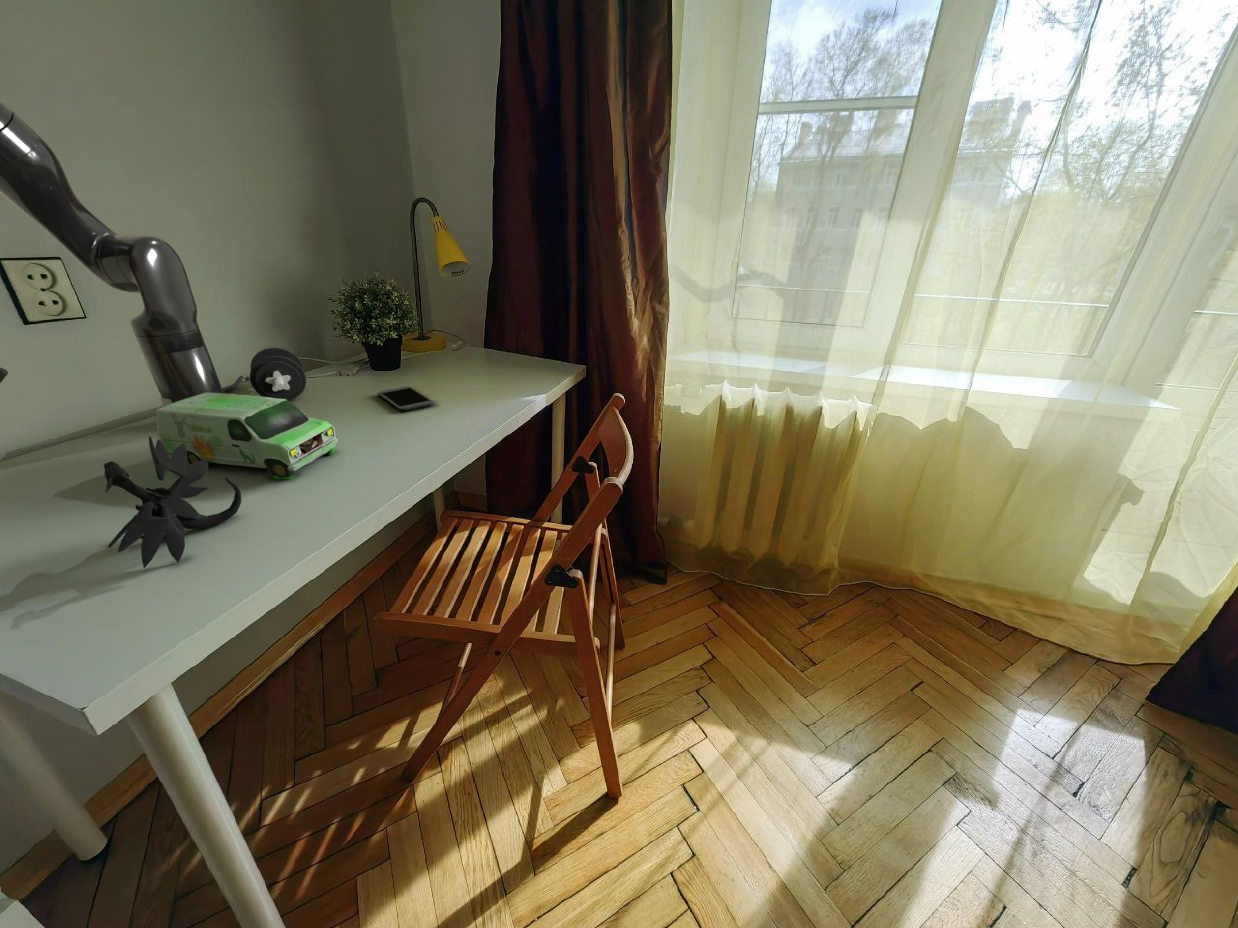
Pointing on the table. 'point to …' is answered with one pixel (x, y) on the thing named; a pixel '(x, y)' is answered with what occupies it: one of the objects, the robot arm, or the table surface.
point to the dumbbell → (277, 374)
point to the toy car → (244, 432)
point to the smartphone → (405, 398)
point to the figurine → (165, 503)
